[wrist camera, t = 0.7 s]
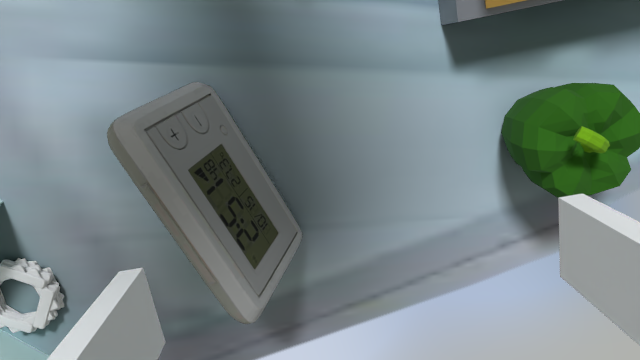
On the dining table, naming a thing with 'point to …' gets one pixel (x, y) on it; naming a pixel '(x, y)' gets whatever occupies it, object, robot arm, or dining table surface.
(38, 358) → the l-shaped corner panel
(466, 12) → the switch unit
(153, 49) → the dining table surface
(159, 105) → the digital clock
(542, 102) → the bell pepper
